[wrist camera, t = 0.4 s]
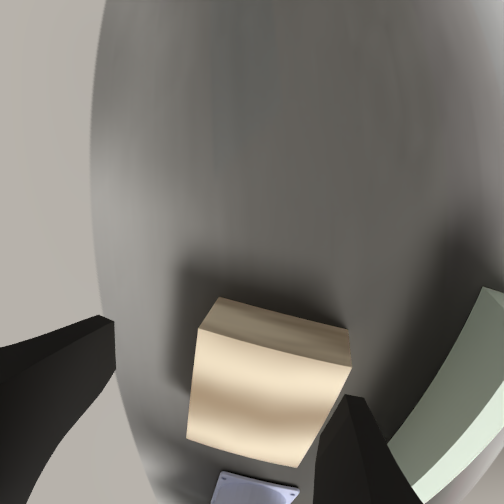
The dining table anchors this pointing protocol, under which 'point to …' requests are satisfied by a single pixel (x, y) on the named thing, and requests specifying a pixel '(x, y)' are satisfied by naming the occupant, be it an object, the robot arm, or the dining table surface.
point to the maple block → (264, 381)
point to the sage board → (457, 404)
